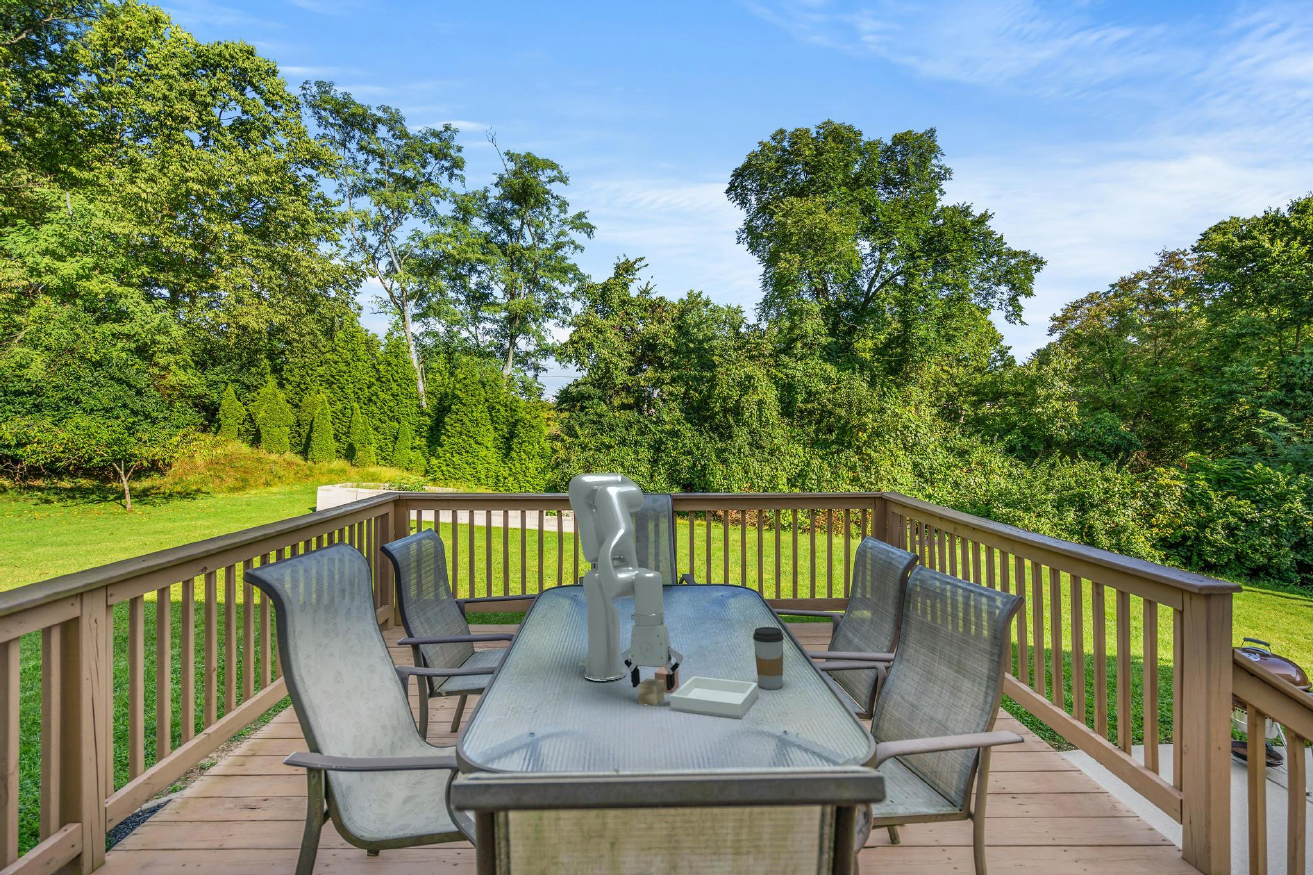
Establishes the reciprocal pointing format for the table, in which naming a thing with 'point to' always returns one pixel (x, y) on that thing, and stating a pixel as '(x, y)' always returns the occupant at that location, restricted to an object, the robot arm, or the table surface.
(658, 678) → the terracotta block
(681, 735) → the table surface
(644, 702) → the maple block
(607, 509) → the robot arm
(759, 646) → the coffee cup
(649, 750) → the table surface
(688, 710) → the tray
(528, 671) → the table surface
